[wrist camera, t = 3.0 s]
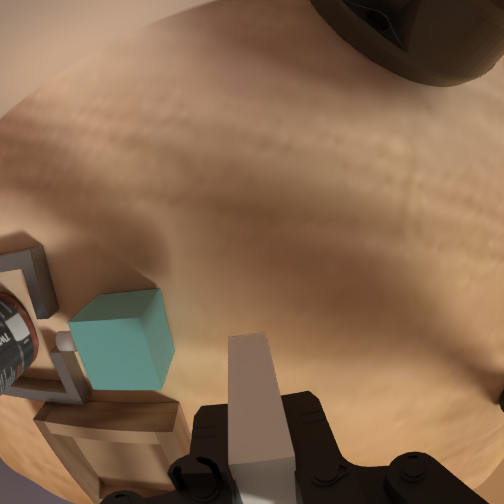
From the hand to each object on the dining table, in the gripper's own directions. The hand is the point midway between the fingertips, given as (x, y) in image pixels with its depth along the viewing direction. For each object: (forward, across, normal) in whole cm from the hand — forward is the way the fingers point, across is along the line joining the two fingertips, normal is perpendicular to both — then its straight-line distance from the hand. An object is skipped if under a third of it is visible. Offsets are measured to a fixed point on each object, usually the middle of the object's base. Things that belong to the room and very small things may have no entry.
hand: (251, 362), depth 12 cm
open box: (+6, -11, -12) cm, 17 cm away
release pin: (+5, -8, 0) cm, 9 cm away
